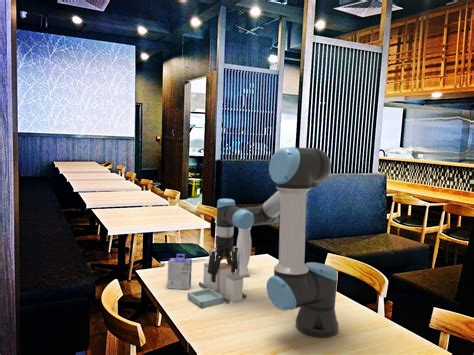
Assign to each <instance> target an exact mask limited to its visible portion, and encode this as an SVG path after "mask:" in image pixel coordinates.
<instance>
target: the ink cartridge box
mask: <svg viewBox="0 0 474 355" xmlns="http://www.w3.org/2000/svg"><path fill="white" fill-rule="evenodd" d="M181 256H182V257H181ZM185 257H186V254H185V253H176V257H175V258H173V257H172V258H169V260H168V262H167V280H166V281H167V282H166V284H167V286H166V288H167V289H173V290H174V289H175V290H176V289H177V290H190V288H191V287H192V269H193V268H192V266H193V265H192V264H193V263H192V261H193V260H192V258H185Z"/></svg>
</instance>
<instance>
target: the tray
mask: <svg viewBox="0 0 474 355" xmlns="http://www.w3.org/2000/svg"><path fill="white" fill-rule="evenodd" d="M212 289H213V288H211V289H210V288H207V289H203V288H202V289H199V290H195V291H190V292H187V300H188V301H190V302H192V303H193V304H195V305H196V306H197V307H199V308H200V309H204V308H208V307H212V306H215V305H220V304H223V303H225V302H224V297H225V296H224V295H223V296H222V295H220V294H219V293H217V292H215V291H214V289H213V290H212Z"/></svg>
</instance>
